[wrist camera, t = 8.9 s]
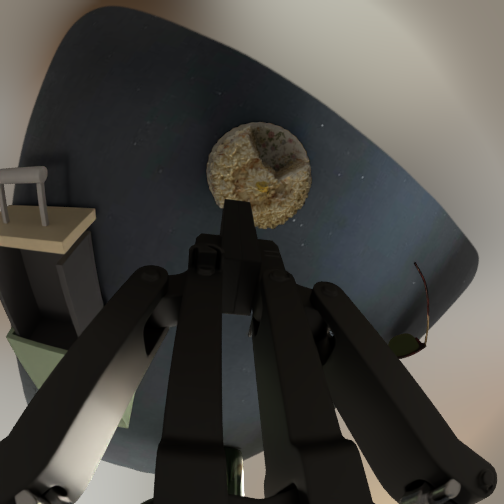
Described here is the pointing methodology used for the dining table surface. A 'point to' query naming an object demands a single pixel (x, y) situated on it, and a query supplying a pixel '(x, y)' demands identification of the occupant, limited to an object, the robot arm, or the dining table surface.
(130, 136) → the dining table surface
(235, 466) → the green wine bottle
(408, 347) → the sunglasses
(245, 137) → the cake
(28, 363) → the green drawer box
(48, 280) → the pull-out drawer
